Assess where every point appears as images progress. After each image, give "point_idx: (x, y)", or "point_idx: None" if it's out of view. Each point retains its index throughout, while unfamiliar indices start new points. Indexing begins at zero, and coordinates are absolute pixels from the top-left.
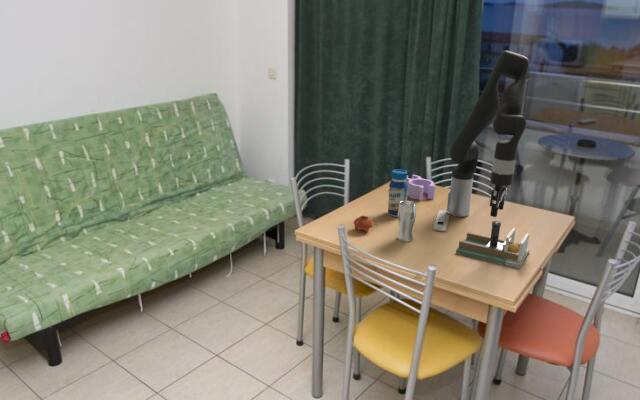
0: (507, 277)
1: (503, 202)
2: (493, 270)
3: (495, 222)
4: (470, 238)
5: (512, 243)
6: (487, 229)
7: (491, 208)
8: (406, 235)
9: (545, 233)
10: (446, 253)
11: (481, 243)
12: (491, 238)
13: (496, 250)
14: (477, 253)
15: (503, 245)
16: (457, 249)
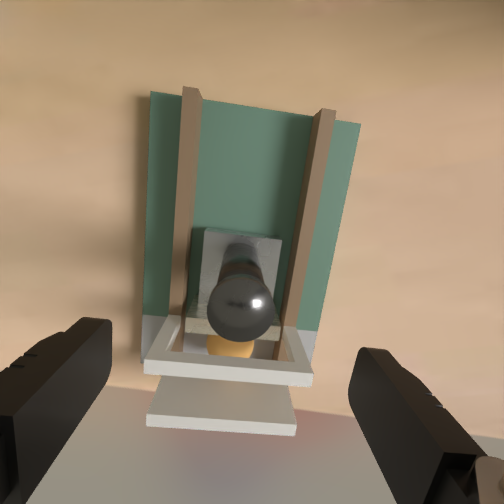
0: (50, 326)
1: (393, 492)
2: (77, 275)
3: (242, 304)
4: (310, 137)
5: (232, 348)
6: (489, 193)
7: (8, 384)
8: None
9: (499, 398)
10: (130, 50)
11: (280, 197)
12: (225, 257)
13: (171, 282)
14: (158, 198)
15: (186, 317)
16: (154, 96)
